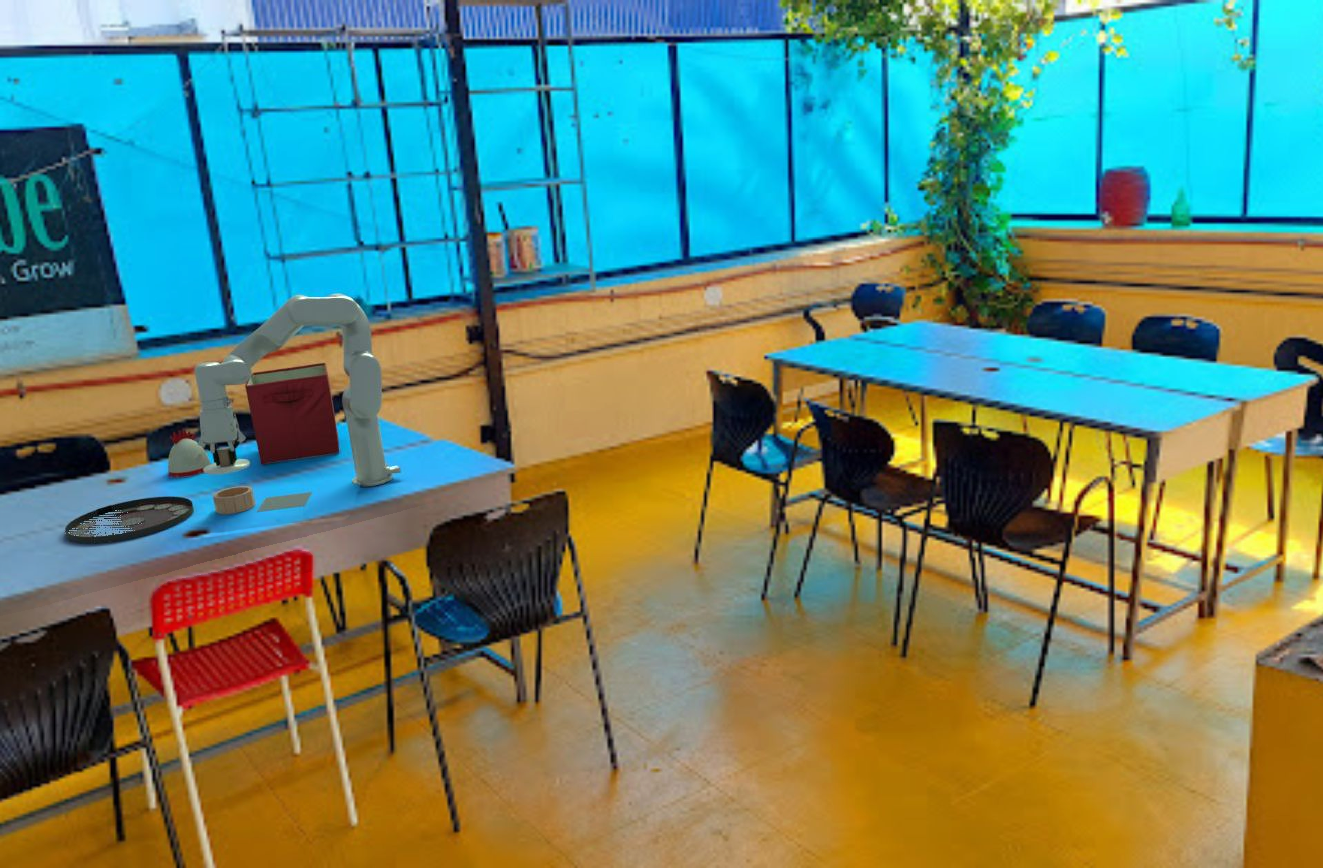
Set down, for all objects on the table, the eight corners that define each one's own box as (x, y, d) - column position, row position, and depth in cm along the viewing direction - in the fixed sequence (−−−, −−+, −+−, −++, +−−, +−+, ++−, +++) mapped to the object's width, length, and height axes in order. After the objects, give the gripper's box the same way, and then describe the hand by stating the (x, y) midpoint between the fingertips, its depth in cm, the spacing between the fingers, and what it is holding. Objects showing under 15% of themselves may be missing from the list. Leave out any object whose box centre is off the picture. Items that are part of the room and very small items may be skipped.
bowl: (259, 502, 338) (255, 484, 337) (251, 514, 328) (247, 495, 326) (222, 507, 337) (218, 489, 336) (213, 519, 327) (209, 500, 325)
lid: (254, 459, 336) (250, 441, 334) (244, 471, 323) (241, 452, 322) (210, 464, 334) (206, 446, 333) (198, 476, 322) (195, 457, 320)
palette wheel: (160, 498, 355) (158, 490, 354) (215, 513, 333) (214, 505, 332) (47, 533, 329) (45, 525, 329) (99, 552, 307) (97, 544, 307)
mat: (312, 494, 342) (312, 491, 341) (305, 508, 328) (304, 505, 328) (266, 500, 340) (266, 497, 340) (257, 515, 327) (256, 511, 326)
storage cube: (262, 447, 407) (247, 370, 400) (338, 435, 414) (326, 360, 407) (259, 469, 377) (243, 387, 370) (341, 456, 385) (327, 375, 377)
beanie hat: (163, 473, 384) (154, 431, 380) (203, 462, 393) (194, 422, 389) (177, 479, 374) (168, 437, 370) (217, 469, 382) (209, 427, 378)
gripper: (246, 398, 328) (257, 457, 333) (189, 404, 327) (200, 463, 331) (241, 404, 321) (252, 464, 326) (182, 410, 319) (194, 470, 324)
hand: (226, 463), depth 329 cm, fingers closed on lid, 3 cm apart
